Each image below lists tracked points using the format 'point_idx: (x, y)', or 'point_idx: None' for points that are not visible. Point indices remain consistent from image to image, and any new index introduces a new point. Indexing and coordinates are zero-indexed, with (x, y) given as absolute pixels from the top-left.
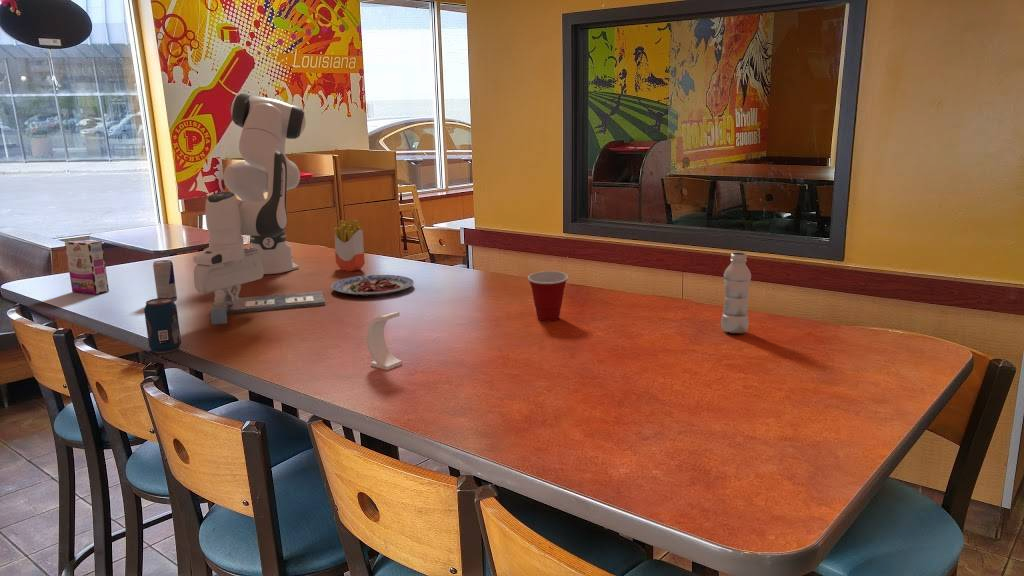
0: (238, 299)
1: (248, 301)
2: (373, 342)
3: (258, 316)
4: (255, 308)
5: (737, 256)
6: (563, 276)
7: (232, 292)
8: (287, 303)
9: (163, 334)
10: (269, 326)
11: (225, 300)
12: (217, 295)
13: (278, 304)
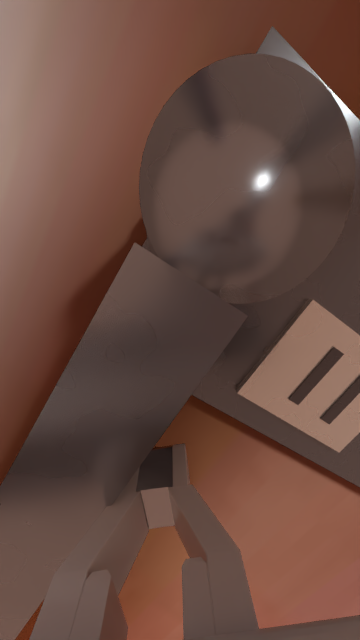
0: (189, 477)
1: (320, 311)
2: None
3: (206, 484)
4: (255, 428)
5: None
6: None
7: (175, 501)
8: None
9: None
10: (155, 588)
11: (15, 635)
12: (27, 488)
13: (348, 452)
